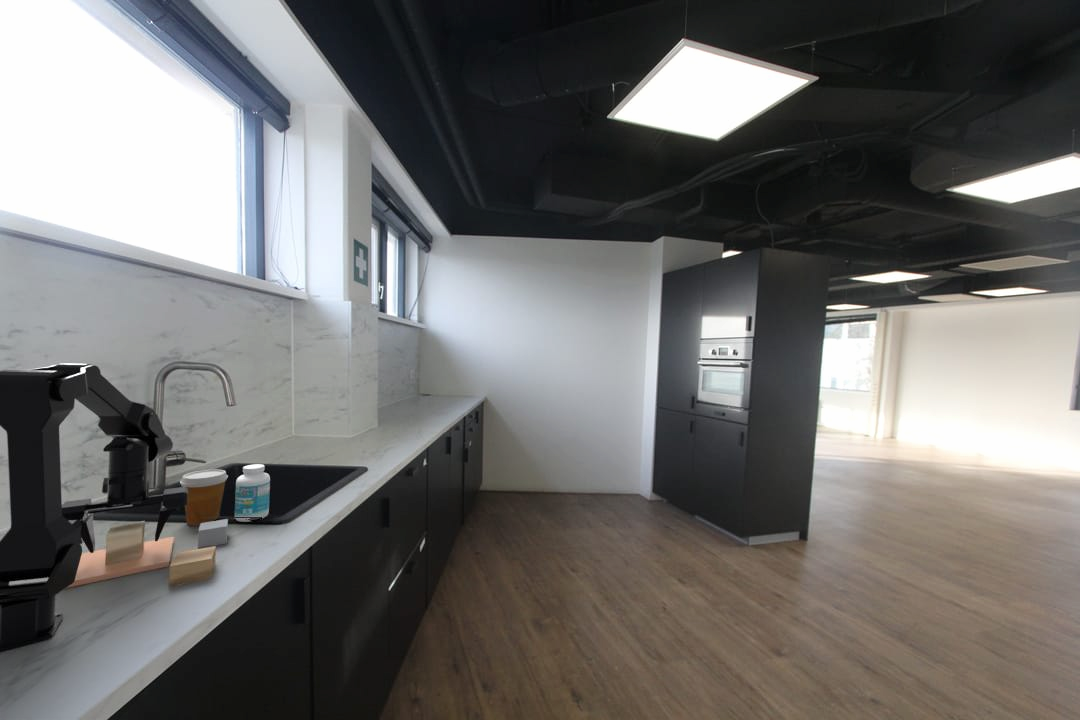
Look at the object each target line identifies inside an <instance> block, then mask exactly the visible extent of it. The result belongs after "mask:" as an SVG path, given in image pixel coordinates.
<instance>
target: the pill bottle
mask: <svg viewBox="0 0 1080 720" xmlns="http://www.w3.org/2000/svg"><path fill="white" fill-rule="evenodd" d="M265 466H266V465H264V464H261V463H253V464H248V465H245V466H242V472H243V474H241V475H240V476H238V477H237V479H236V481H235V493H234V494H235V498H234V520H235V519H236V522H240V523H248V522H249V523H250V522H251V521H250V520H248V519H250V518H235V517H262V519H264V518H266V517H267V516H268V515H269V510H270V494H271V493H270V491H271V477H270V474H269V473H267V472H264V471H265V470H266V469H265V468H266V467H265ZM246 519H247V520H246Z"/></svg>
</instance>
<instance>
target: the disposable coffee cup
mask: <svg viewBox="0 0 1080 720" xmlns="http://www.w3.org/2000/svg"><path fill="white" fill-rule="evenodd" d="M181 477H182V478H181V480H180V481H179V484H180V487H186V488H187V489H188V501H187V505H185V506H184V510H185V517H186V524H187V525H188V526H200V524H201V523H205V522H211V521H214V519H218V518H200V517H219V518H220V511H221V508H222V502H223V496H224V491H225V486H226V481H227V479H228V477H229V475H227V471H226V470H223V469H204V470H197V471H192V472H189V473H185V474H184V475H182V476H181ZM218 520H219V519H218Z"/></svg>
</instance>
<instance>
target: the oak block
mask: <svg viewBox="0 0 1080 720" xmlns="http://www.w3.org/2000/svg"><path fill="white" fill-rule="evenodd" d="M216 546H217V545H214V546H208V547H203V548H196V549H191V550H185V551H179V552H176V554H175V556H174V558H173V560H172V561H171V563H170V564H169V575H168V581H169V582H168V587H169V588H171V587H175V586H180V585H185V584H190V583H195V582H200V581H206V580H211V579H212V576H213V574H214V570H215V568H216V558H217V557H216V556H217V553H216V552H217V547H216Z"/></svg>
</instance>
